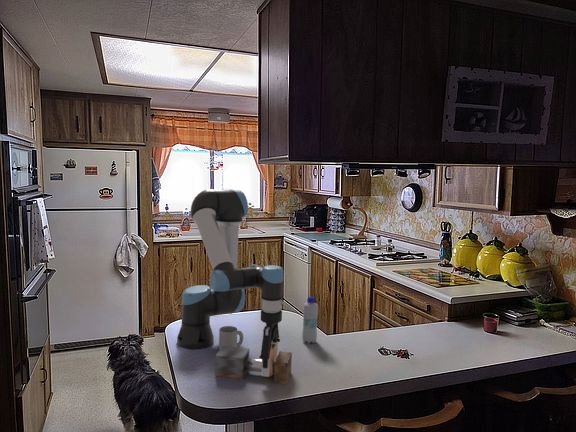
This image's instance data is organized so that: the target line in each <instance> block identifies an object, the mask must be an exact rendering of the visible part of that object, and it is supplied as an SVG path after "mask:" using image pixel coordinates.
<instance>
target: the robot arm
mask: <svg viewBox="0 0 576 432" xmlns="http://www.w3.org/2000/svg"><path fill="white" fill-rule="evenodd" d="M248 210H249V204H248V199H247V197H246V194H245V193H244V191H242V190H240V189H233V188H231V189H230V188H229V189H227V188H226V189H213V188H212V189H204V190H202V191H201V192H199V193H198V194H197V195H196V196H195V197H194V199H193V200H192V203H191V206H190V216H191V220H192V222H193V223H194V225H196V226H197V228H198V232H199V234H200V237H201V241H202V243H203V245H204V249H205V251H206V254H207V256H208V259H209V263H210V265H211V268H212V271H211V273H210V274H209V285H210V286H209V285H206V284H202V285H201V284H199V285H194V286H189V287H188V288H186V289H184V291H182V294H181V301H180V302H181V325H180V329H179V331H178V334H177V337H176V343H177V345H178V346H179V347H180V348H184V349H189V350H197V349H199V350H200V349H204V348H207V347H209V346H211V345H212V344H213V343H214V342H215V341H214V339H215V338H214V337H215V336H214V333H213V330H212V327H211V323H210V322H211V317H215V316H223V315H232V314H234V313H239V312H241V310H243V309H244V306H245V301H246V293H245V292H246V291H245V289H252V288H253V289H254V288H258V289H260V290H261V298H260V309H261V310H260V321H261V322H262V323H265V326H264V328H263V330H262V331H263V335H262V342H261V343H262V344H261V351H260V355H259V357H258V359H262V370H261V372H260V373H261V374H260V376H261V377H267V378H269V377H270V376H269V375H270V358H269V356H270V350H271V344H276V349H275V360H276V358H277V356H278V351H279V350H278V347H279V343H280V342H281V339H280V333H279V332H280V331H279V323H281V322H282V320H283V310H282V309H283V305H284V304H285V302H284V301H283V295H284V294H283V293H284V279H285V277H284V270H283V269H284V268H283V267H282V266H279V265H272V264H271V265H270V264H269V265H265V266H263V265H259V264H250V265H249V266H247V267H239V268H238V261H239V260H238V257H239V255H238V254H239V226H240V225H241V224H242V222H243V218H245V217H247V215H248V212H249V211H248Z"/></svg>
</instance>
